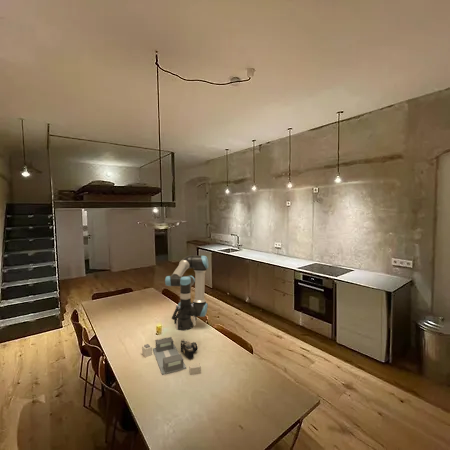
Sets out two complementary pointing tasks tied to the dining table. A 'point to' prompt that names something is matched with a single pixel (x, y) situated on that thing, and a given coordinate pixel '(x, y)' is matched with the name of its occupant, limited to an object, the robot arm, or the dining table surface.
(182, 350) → the camera
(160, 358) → the rail board
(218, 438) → the dining table surface
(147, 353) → the block
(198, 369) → the terminal block
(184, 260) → the robot arm
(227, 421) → the dining table surface
